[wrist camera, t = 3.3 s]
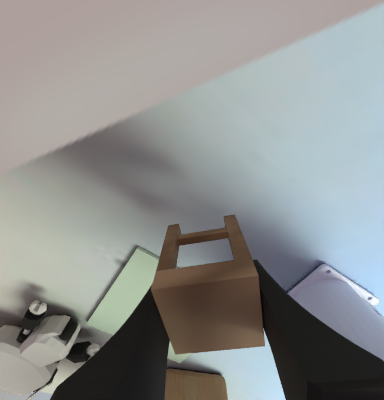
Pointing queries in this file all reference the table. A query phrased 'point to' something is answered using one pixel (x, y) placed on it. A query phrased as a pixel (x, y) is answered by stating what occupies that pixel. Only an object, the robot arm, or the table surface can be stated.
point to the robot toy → (38, 350)
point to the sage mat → (128, 296)
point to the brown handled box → (209, 295)
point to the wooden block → (194, 386)
